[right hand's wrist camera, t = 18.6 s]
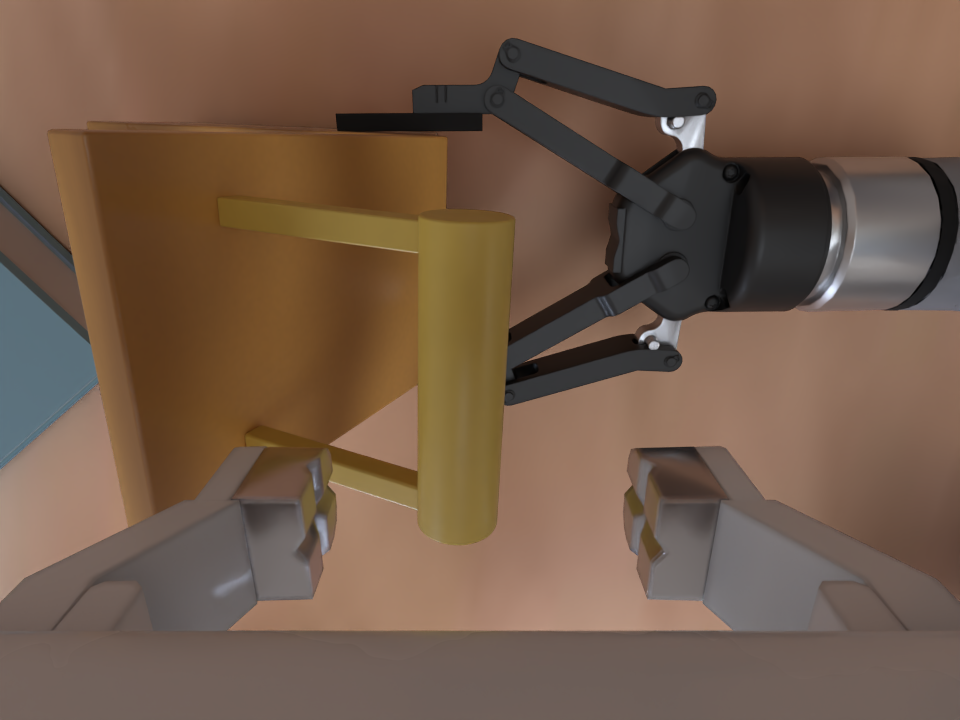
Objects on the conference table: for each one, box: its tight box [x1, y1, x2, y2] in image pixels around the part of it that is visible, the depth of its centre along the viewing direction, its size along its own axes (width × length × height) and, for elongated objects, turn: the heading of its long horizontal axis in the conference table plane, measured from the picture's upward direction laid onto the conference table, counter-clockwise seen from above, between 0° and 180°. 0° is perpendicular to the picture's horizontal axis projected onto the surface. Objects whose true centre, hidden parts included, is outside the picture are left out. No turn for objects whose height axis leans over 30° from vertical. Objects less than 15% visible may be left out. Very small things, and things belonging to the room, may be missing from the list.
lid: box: [47, 129, 515, 545], centre depth 18 cm, size 15×10×9 cm
